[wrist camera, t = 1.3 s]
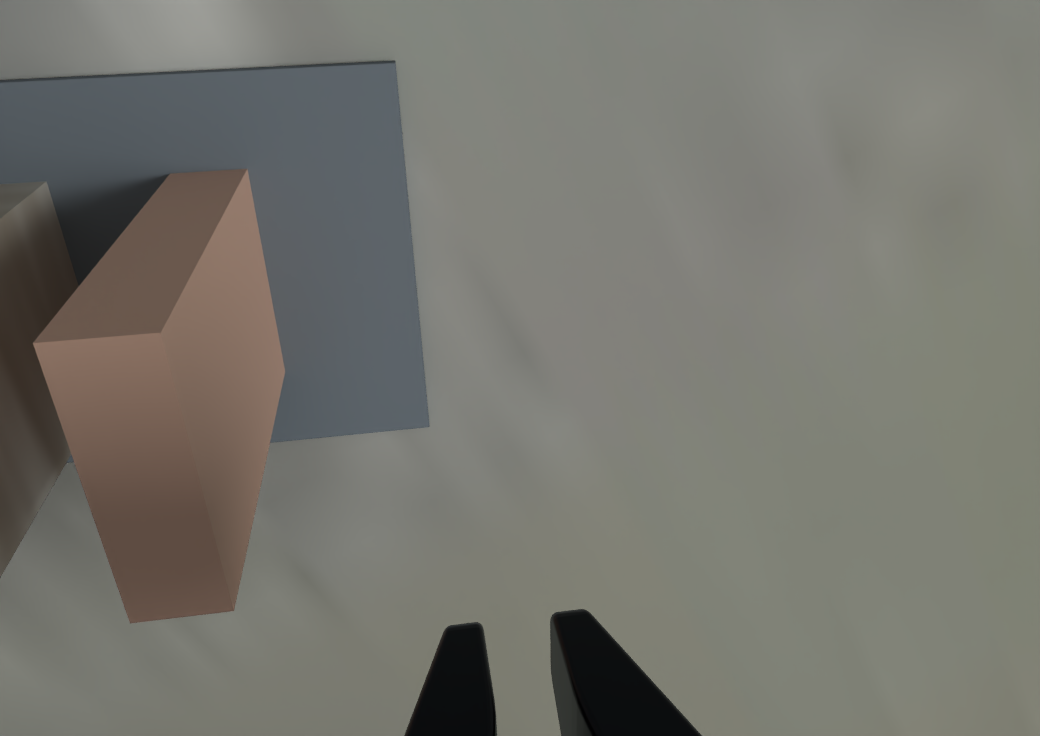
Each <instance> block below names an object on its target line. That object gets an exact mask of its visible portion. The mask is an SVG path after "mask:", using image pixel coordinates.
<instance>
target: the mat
mask: <svg viewBox="0 0 1040 736" xmlns="http://www.w3.org/2000/svg"><path fill="white" fill-rule="evenodd" d="M235 169H248V175H249V180H250V185H251V191H252V196H253V202H254V207H255V212H256V218H257V223H258V228H259V234H260V239H261V244H262V250H263V255H264V261H265V266H266V271H267V277H268V282H269V287H270V293H271V298H272V304H273V309H274V314H275V320H276V325H277V330H278V336H279V341H280V346H281V352H282V357H283V363H284V368H285V375H284V380H283V384H282V389H281V394H280V398H279V403H278V407H277V412H276V417H275V421H274V426H273V431H272V435H271V440H270V443H271V442H282V441H292V440H302V439H312V438H322V437H332V436H342V435H353V434H363V433H373V432H383V431H393V430H403V429H413V428H424V427H429V416H428V406H427V395H426V384H425V374H424V363H423V352H422V342H421V331H420V320H419V310H418V299H417V288H416V277H415V267H414V256H413V245H412V235H411V224H410V213H409V203H408V192H407V181H406V171H405V160H404V149H403V139H402V128H401V117H400V107H399V96H398V85H397V74H396V64H395V61H380V62H360V63H340V64H320V65H300V66H279V67H259V68H239V69H219V70H199V71H179V72H159V73H139V74H119V75H99V76H79V77H59V78H39V79H18V80H0V184H12V183H28V182H44V181H47V185H48V188H49V191H50V194H51V198H52V201H53V204H54V207H55V211H56V214H57V217H58V220H59V224H60V227H61V230H62V234H63V237H64V240H65V243H66V247H67V250H68V253H69V256H70V260H71V263H72V266H73V269H74V273H75V276H76V279H77V282H78V286H80V284H81V283H82V282H83V281H84V279H85V278H86V277H87V276H88V274H89V273H90V272H91V271H92V270H93V268H94V267H95V266H96V265H97V263H98V262H99V261H100V260H101V258H102V257H103V256H104V255H105V253H106V252H107V251H108V250H109V249H110V247H111V246H112V245H113V244H114V242H115V241H116V240H117V239H118V237H119V236H120V235H121V234H122V233H123V231H124V230H125V229H126V228H127V226H128V225H129V224H130V223H131V221H132V220H133V219H134V218H135V216H136V215H137V214H138V213H139V212H140V210H141V209H142V208H143V207H144V205H145V204H146V203H147V202H148V200H149V199H150V198H151V197H152V195H153V194H154V193H155V192H156V191H157V189H158V188H159V187H160V186H161V184H162V183H163V182H164V181H165V179H166V178H167V177H168V176H169V175H170V174H172V173H188V172H203V171H219V170H235ZM69 462H74V460H73V457H72V454H71V455H70V457H69V459H68V461H67V462H66V463H69Z"/></svg>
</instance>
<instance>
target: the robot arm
mask: <svg viewBox="0 0 1040 736" xmlns="http://www.w3.org/2000/svg"><path fill="white" fill-rule="evenodd" d="M550 640H551V674H552V682H553V689H554V695H555V701H556V706H557V712H558V718H559V724H560V730H561V736H702V735H701V734H700V733H699V732H698V731H697V730H696V729H695V728H694V727H693V725H692V724H691V723H690V722H689V721H688V720H687V719H686V718H685V717H684V716H683V714H682V713H681V712H680V711H679V710H678V709H677V708H676V707H675V706H674V705H673V703H672V702H671V701H670V700H669V699H668V698H667V697H666V696H665V695H664V694H663V692H662V691H661V690H660V689H659V688H658V687H657V686H656V685H655V684H654V683H653V681H652V680H651V679H650V678H649V677H648V676H647V675H646V674H645V673H644V672H643V670H642V669H641V668H640V667H639V666H638V665H637V664H636V663H635V662H634V661H633V659H632V658H631V657H630V656H629V655H628V654H627V653H626V652H625V651H624V650H623V648H622V647H621V646H620V645H619V644H618V643H617V642H616V641H615V640H614V639H613V637H612V636H611V635H610V634H609V633H608V632H607V631H606V630H605V629H604V628H603V627H602V625H601V624H600V623H599V622H598V621H597V620H596V619H595V618H594V617H593V616H592V614H591V613H590V612H588V611H587V610H584V609H578V610H570V611H562V612H556V613H554V614H553V615H552V617H551V620H550ZM404 736H497V725H496V711H495V702H494V694H493V688H492V682H491V675H490V669H489V662H488V656H487V649H486V643H485V636H484V630H483V626H482V625H481V624H480V623H478V622H474V623H466V624H458V625H451V626H448V627H447V628H446V629H445V631H444V632H443V635H442V637H441V640H440V643H439V645H438V648H437V651H436V653H435V656H434V659H433V661H432V664H431V667H430V669H429V672H428V674H427V677H426V680H425V682H424V685H423V688H422V690H421V693H420V696H419V698H418V701H417V704H416V706H415V709H414V712H413V714H412V717H411V719H410V722H409V725H408V727H407V730H406V733H405V735H404Z"/></svg>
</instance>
